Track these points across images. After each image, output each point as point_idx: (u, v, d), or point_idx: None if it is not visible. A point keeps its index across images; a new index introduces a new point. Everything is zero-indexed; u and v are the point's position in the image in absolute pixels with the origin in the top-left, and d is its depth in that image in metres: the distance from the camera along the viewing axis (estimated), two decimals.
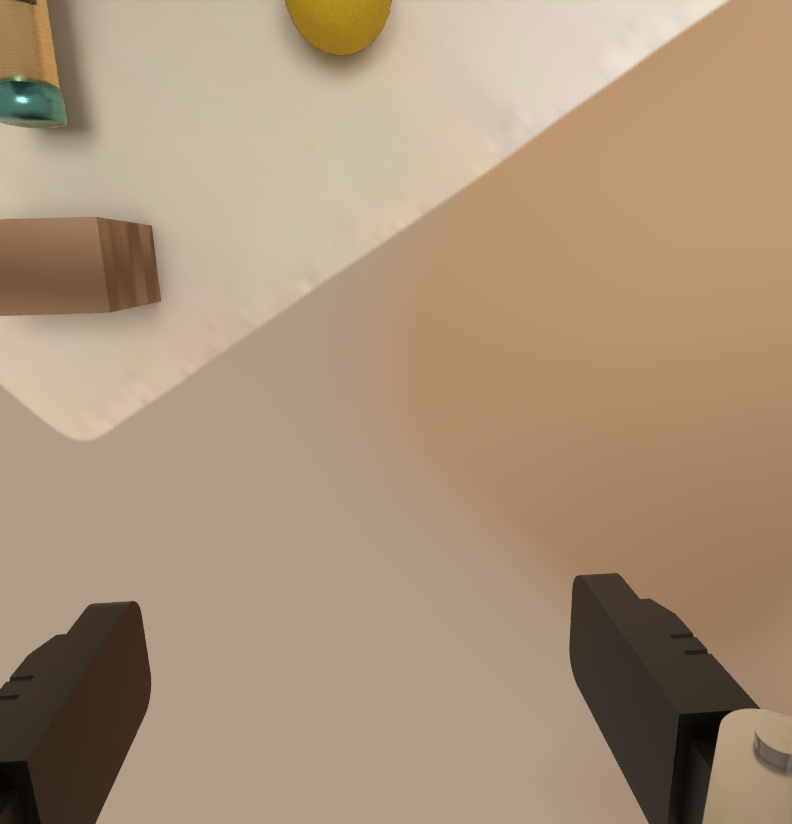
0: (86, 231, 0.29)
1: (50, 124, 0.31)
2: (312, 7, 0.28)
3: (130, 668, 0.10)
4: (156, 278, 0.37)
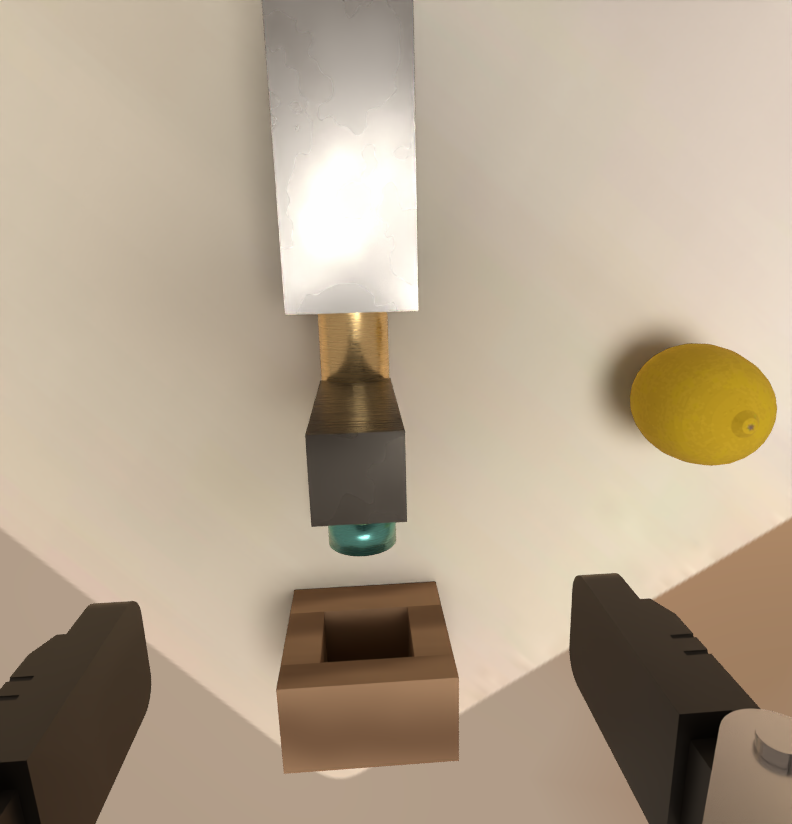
0: (446, 690, 0.27)
1: None
2: (697, 455, 0.26)
3: (130, 668, 0.10)
4: None
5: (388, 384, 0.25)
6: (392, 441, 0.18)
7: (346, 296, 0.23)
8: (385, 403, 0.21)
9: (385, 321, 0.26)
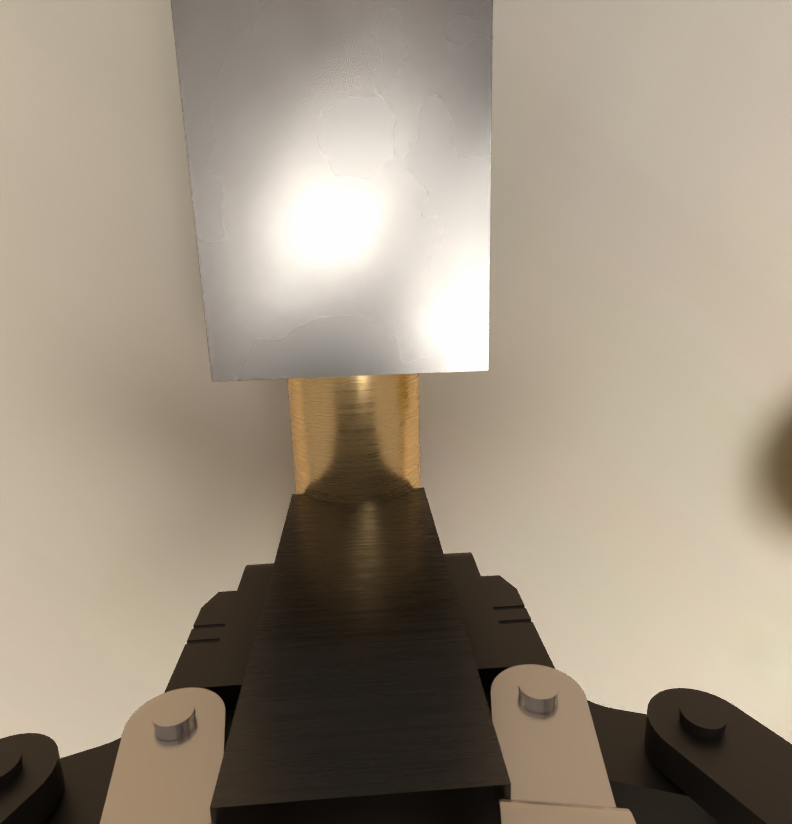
0: None
1: None
2: None
3: None
4: None
5: (423, 511, 0.12)
6: (472, 813, 0.06)
7: (340, 342, 0.11)
8: (428, 596, 0.09)
9: (416, 383, 0.13)
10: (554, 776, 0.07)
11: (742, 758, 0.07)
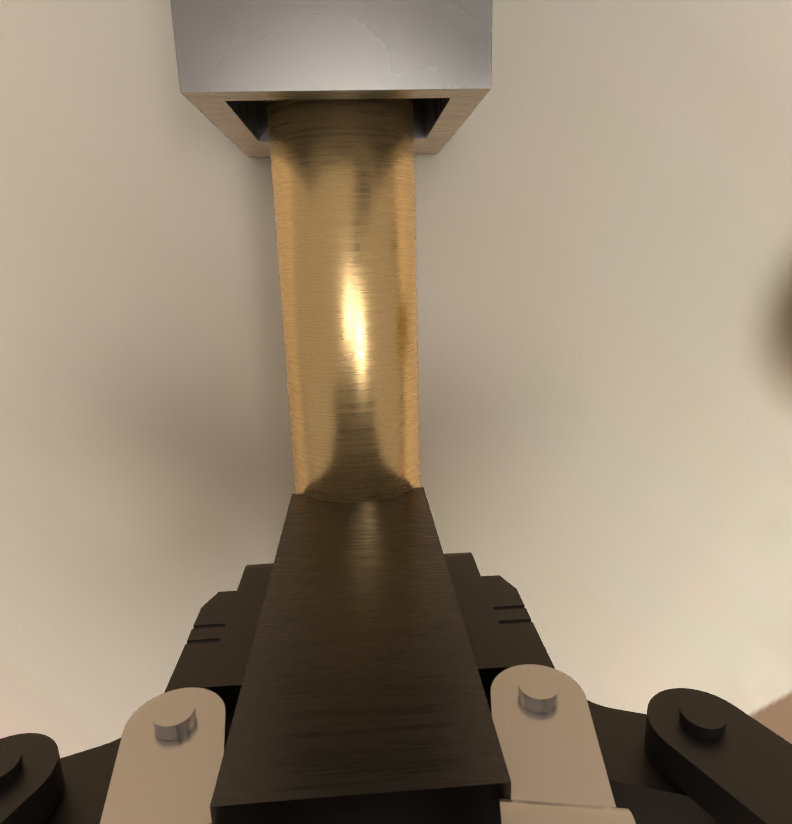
0: None
1: None
2: None
3: None
4: None
5: (423, 510, 0.13)
6: (472, 810, 0.06)
7: (324, 48, 0.10)
8: (428, 595, 0.09)
9: (416, 383, 0.13)
10: (554, 776, 0.07)
11: (742, 758, 0.07)
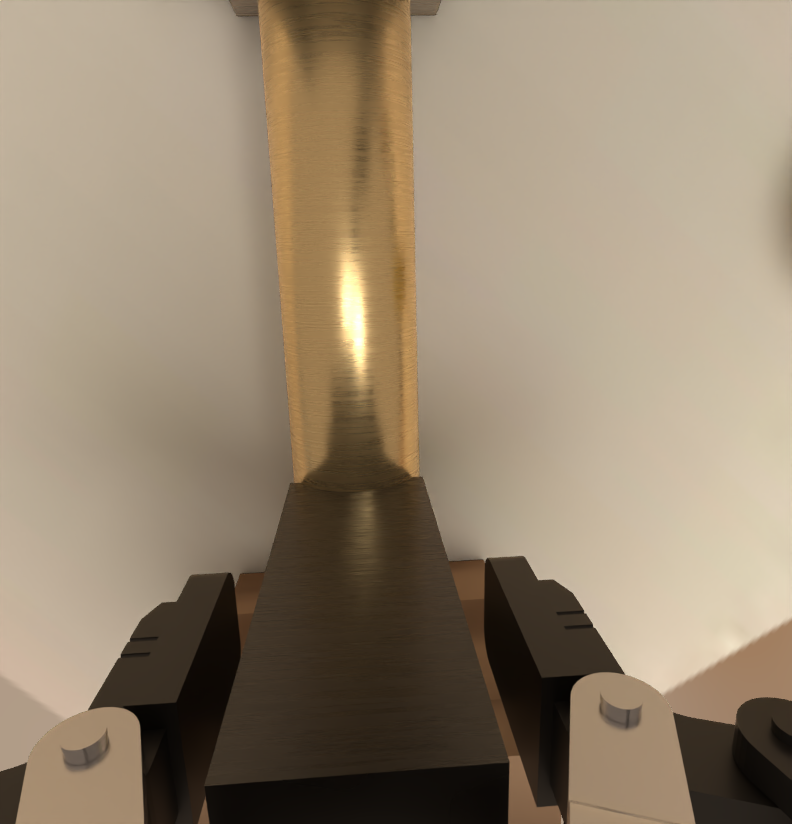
0: None
1: None
2: None
3: (228, 634, 0.11)
4: None
5: (422, 499, 0.12)
6: (470, 792, 0.06)
7: None
8: (427, 580, 0.09)
9: (414, 371, 0.13)
10: (631, 787, 0.06)
11: None
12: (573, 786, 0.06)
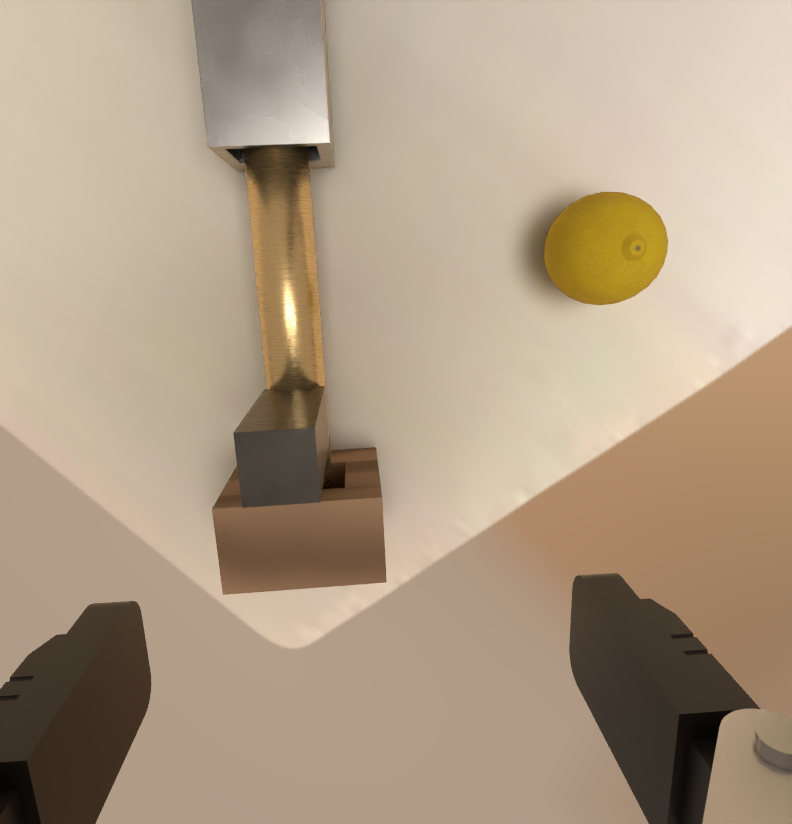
0: (371, 510, 0.29)
1: None
2: (596, 286, 0.28)
3: (130, 668, 0.10)
4: None
5: (320, 391, 0.29)
6: (304, 437, 0.22)
7: (263, 128, 0.26)
8: (310, 406, 0.26)
9: (319, 338, 0.30)
10: None
11: None
12: (708, 817, 0.06)
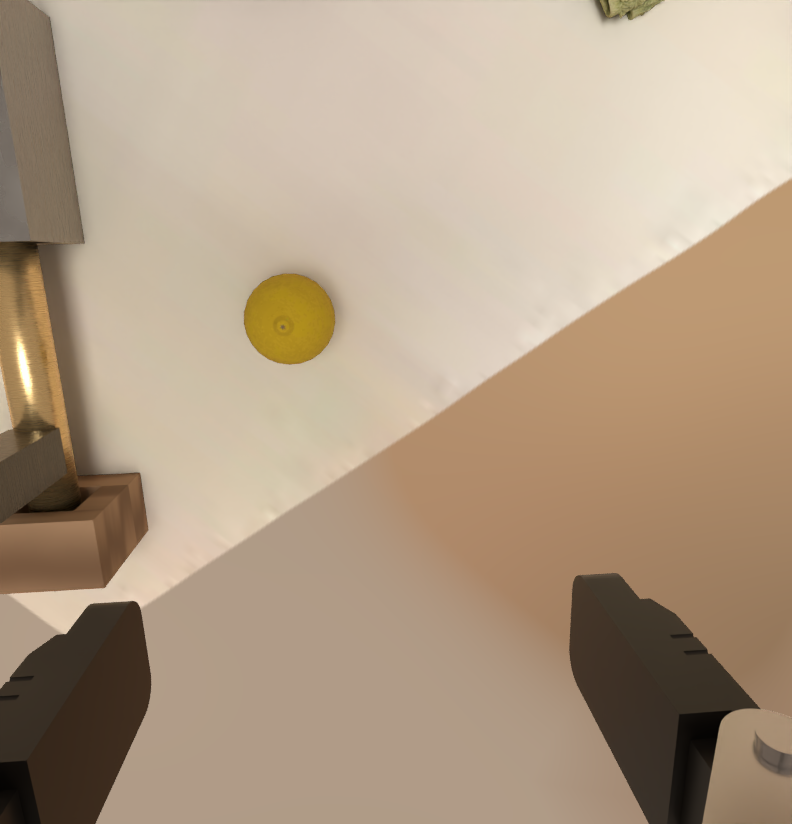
0: (85, 530, 0.36)
1: None
2: (266, 353, 0.35)
3: (130, 668, 0.10)
4: (144, 514, 0.44)
5: (46, 433, 0.36)
6: None
7: None
8: (12, 450, 0.33)
9: (53, 388, 0.37)
10: None
11: None
12: (708, 817, 0.06)
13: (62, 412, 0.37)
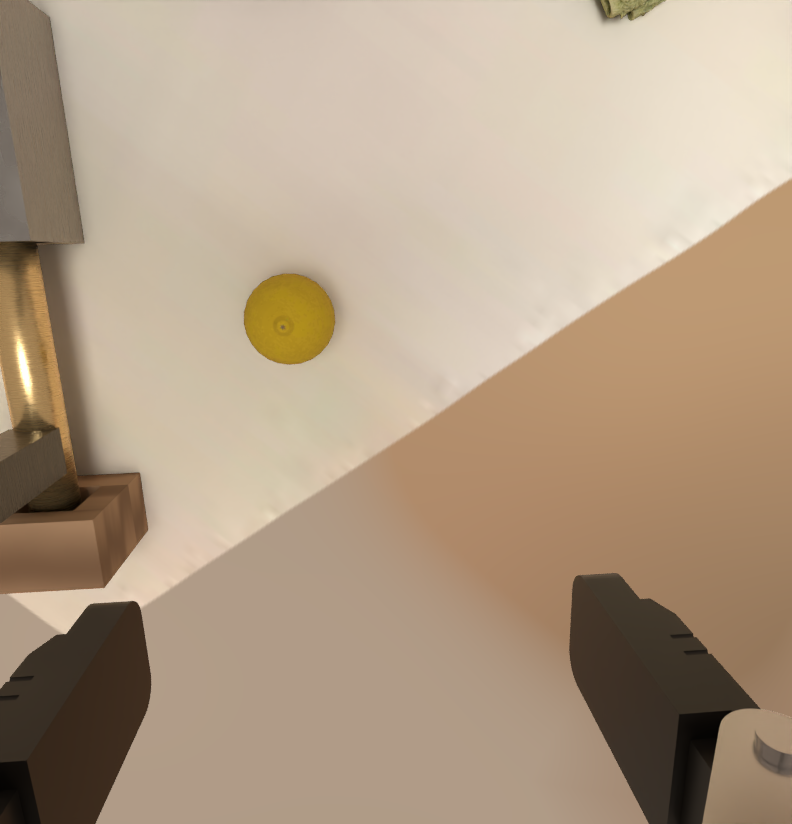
0: (84, 530, 0.36)
1: None
2: (266, 353, 0.35)
3: (130, 668, 0.10)
4: (144, 514, 0.44)
5: (46, 433, 0.36)
6: None
7: None
8: (11, 450, 0.33)
9: (53, 388, 0.37)
10: None
11: None
12: (708, 816, 0.06)
13: (62, 412, 0.37)
